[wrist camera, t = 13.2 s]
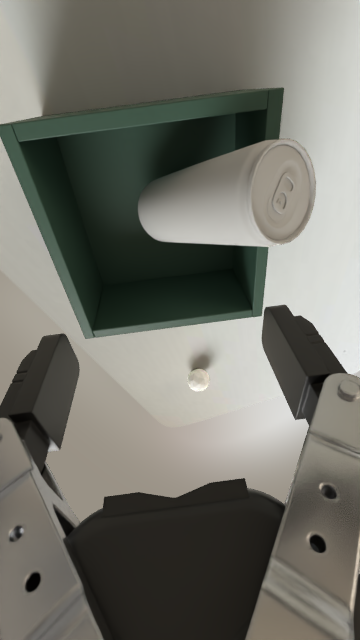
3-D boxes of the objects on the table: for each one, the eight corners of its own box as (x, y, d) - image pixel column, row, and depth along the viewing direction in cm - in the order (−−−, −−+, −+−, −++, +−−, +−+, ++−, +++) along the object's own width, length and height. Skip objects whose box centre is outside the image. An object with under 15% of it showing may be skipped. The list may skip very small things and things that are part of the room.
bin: (98, 288, 29) (85, 339, 23) (41, 116, 20) (-5, 125, 14) (238, 270, 29) (261, 316, 23) (244, 89, 20) (284, 87, 14)
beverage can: (125, 223, 22) (231, 215, 12) (149, 164, 22) (277, 107, 12) (173, 251, 24) (292, 263, 15) (195, 199, 24) (329, 177, 15)
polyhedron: (209, 364, 38) (213, 382, 36) (204, 379, 40) (208, 397, 37) (189, 363, 37) (191, 380, 35) (184, 378, 39) (186, 396, 37)
